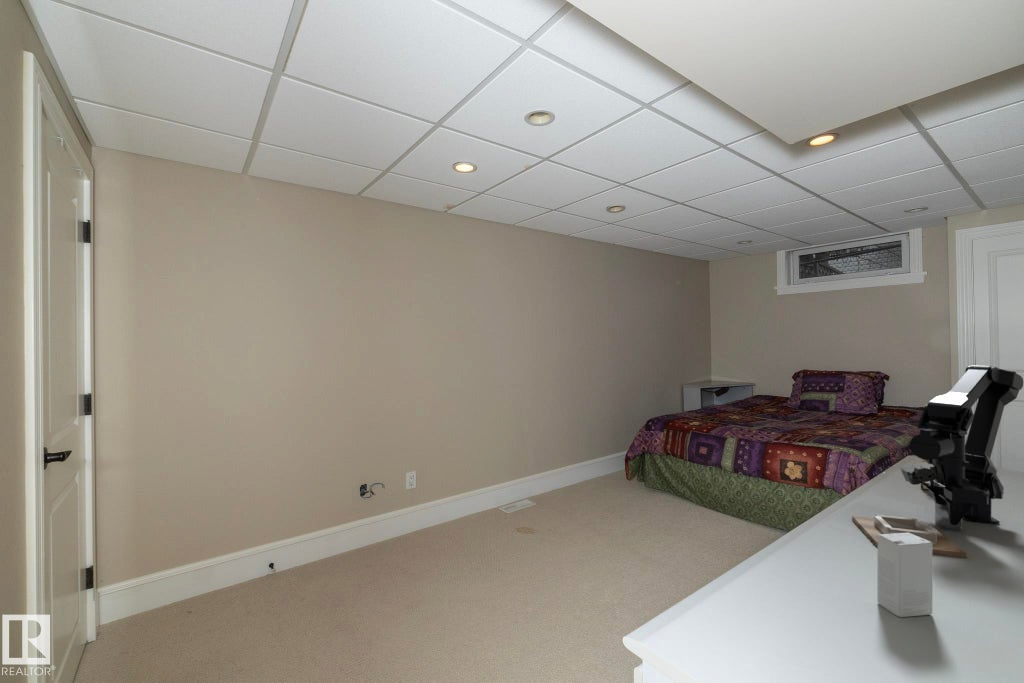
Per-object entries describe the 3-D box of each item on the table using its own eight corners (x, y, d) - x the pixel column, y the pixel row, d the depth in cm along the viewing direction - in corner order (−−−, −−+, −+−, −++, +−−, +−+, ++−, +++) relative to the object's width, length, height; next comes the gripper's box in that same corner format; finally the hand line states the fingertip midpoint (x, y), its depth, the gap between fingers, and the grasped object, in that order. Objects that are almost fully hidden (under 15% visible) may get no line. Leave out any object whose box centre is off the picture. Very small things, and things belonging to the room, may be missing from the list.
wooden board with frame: (852, 519, 111) (852, 507, 111) (929, 528, 106) (929, 515, 106) (876, 546, 97) (876, 532, 97) (966, 558, 92) (966, 543, 92)
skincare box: (907, 600, 77) (907, 530, 77) (934, 616, 73) (934, 542, 73) (875, 603, 77) (874, 532, 77) (900, 619, 72) (900, 544, 72)
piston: (931, 522, 109) (931, 501, 109) (954, 524, 108) (954, 503, 108) (940, 529, 105) (940, 508, 105) (965, 532, 104) (965, 510, 103)
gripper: (888, 443, 118) (889, 502, 118) (924, 462, 100) (924, 531, 101) (943, 446, 114) (943, 508, 114) (990, 466, 96) (990, 539, 97)
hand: (948, 520), depth 106 cm, fingers closed on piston, 4 cm apart
